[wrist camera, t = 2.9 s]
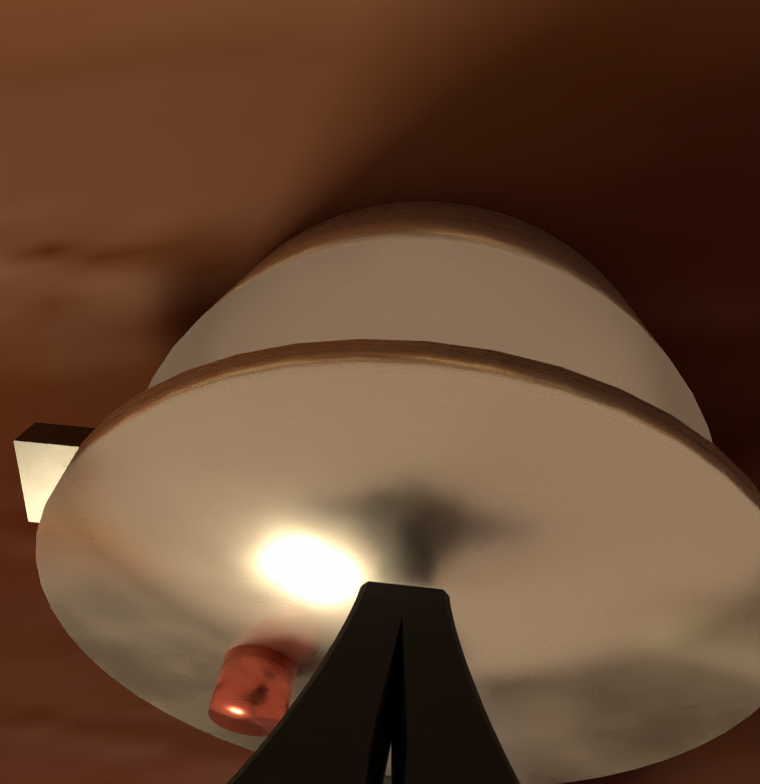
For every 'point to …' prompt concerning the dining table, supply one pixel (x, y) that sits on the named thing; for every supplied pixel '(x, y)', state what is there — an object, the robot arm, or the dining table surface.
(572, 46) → the dining table surface
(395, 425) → the cooker lid
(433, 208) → the cooker pot
